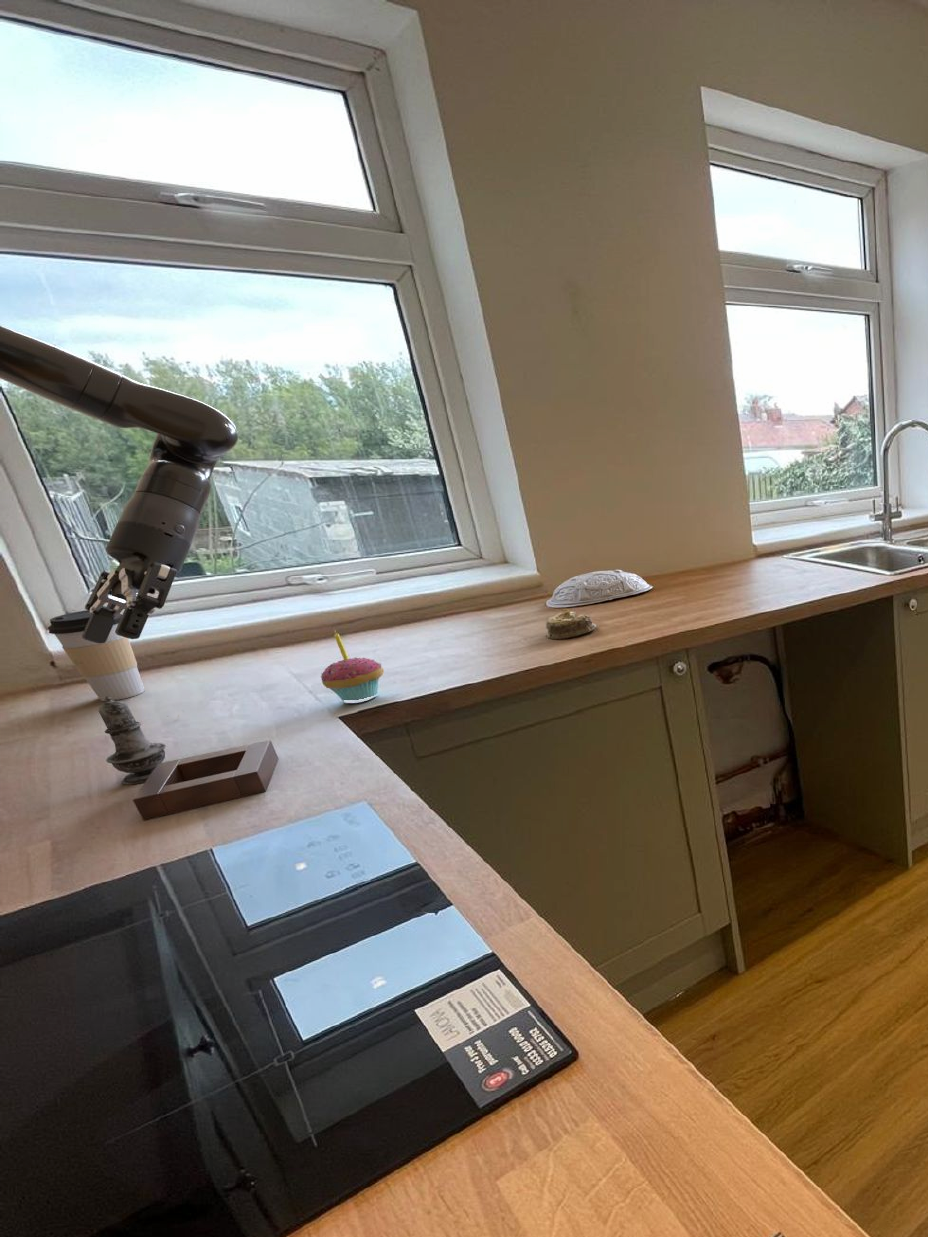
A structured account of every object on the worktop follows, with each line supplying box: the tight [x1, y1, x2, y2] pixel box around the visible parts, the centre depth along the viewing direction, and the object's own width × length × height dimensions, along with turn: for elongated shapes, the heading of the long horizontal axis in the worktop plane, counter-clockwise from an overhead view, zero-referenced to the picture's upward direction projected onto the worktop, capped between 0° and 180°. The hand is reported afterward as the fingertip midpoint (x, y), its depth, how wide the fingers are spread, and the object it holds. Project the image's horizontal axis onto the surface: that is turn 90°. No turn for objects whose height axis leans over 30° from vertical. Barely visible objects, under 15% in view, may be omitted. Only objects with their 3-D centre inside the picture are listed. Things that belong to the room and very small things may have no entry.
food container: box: [545, 569, 653, 609], centre depth 189 cm, size 16×25×7 cm, turn 125°
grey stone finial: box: [98, 696, 166, 786], centre depth 104 cm, size 6×6×12 cm
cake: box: [545, 607, 598, 640], centre depth 161 cm, size 10×10×5 cm
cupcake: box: [320, 629, 385, 701], centre depth 128 cm, size 9×8×12 cm
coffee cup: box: [47, 609, 145, 702], centre depth 135 cm, size 9×9×15 cm
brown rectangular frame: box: [132, 739, 279, 821], centre depth 102 cm, size 12×12×3 cm
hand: (109, 639), depth 103 cm, fingers open, 8 cm apart
